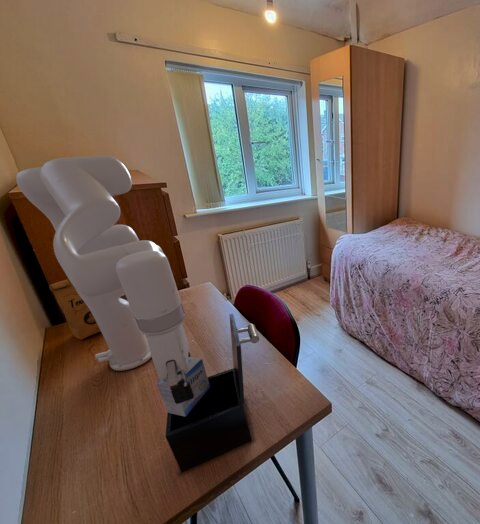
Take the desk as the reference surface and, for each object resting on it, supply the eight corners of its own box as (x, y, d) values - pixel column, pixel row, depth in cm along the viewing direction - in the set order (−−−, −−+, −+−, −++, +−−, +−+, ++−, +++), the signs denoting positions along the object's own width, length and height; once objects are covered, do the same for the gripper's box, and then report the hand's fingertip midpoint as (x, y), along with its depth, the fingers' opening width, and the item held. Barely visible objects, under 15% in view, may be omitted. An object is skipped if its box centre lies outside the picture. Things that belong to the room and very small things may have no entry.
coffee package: (120, 326, 108) (98, 274, 99) (78, 344, 99) (49, 289, 90) (112, 317, 114) (90, 267, 105) (72, 333, 105) (44, 280, 96)
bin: (181, 472, 61) (165, 436, 56) (182, 424, 71) (169, 390, 66) (252, 441, 67) (242, 405, 62) (243, 400, 77) (235, 367, 72)
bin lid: (236, 346, 56) (262, 340, 58) (229, 313, 66) (251, 310, 68) (240, 405, 61) (264, 397, 64) (233, 366, 72) (254, 361, 74)
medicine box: (185, 418, 58) (174, 387, 55) (167, 413, 59) (155, 383, 56) (211, 387, 65) (202, 358, 62) (194, 383, 66) (185, 355, 63)
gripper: (143, 299, 59) (167, 363, 66) (129, 351, 45) (161, 425, 52) (184, 290, 62) (203, 352, 69) (183, 336, 48) (206, 408, 55)
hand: (185, 383), depth 60 cm, fingers closed on medicine box, 8 cm apart
